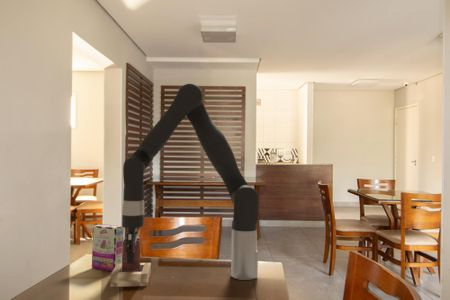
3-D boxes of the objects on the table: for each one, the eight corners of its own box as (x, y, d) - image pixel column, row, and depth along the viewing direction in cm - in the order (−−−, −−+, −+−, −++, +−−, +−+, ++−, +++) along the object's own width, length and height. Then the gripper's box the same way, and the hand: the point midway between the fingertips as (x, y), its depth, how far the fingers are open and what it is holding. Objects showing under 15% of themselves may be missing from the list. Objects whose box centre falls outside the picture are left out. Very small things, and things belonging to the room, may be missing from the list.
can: (135, 283, 114) (136, 242, 115) (118, 282, 116) (119, 240, 116) (143, 277, 120) (144, 238, 121) (126, 276, 122) (128, 237, 122)
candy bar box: (123, 268, 130) (124, 225, 130) (114, 272, 125) (115, 228, 125) (100, 264, 134) (101, 223, 134) (91, 268, 129) (92, 225, 130)
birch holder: (150, 273, 125) (150, 262, 125) (147, 285, 113) (147, 273, 113) (117, 274, 123) (117, 263, 123) (110, 286, 111) (110, 274, 111)
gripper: (141, 216, 112) (140, 266, 111) (146, 209, 126) (145, 254, 126) (118, 216, 111) (117, 266, 111) (125, 209, 125) (124, 254, 125)
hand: (132, 259), depth 118 cm, fingers open, 7 cm apart
